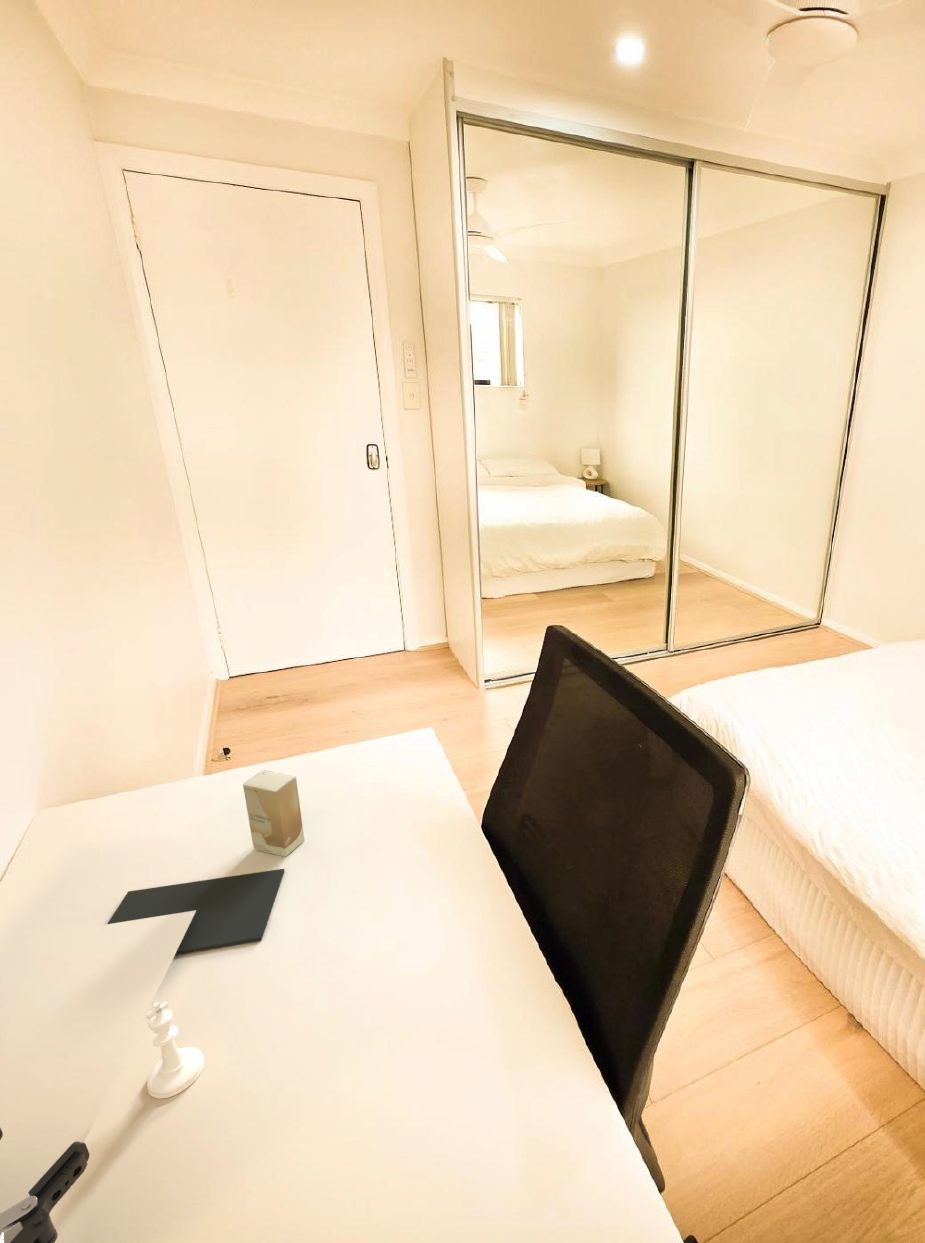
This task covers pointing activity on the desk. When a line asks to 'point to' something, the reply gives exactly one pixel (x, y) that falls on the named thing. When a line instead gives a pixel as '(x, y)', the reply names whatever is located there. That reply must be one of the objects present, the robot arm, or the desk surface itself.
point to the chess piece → (171, 1057)
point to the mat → (210, 908)
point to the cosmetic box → (274, 812)
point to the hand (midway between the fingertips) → (40, 1137)
